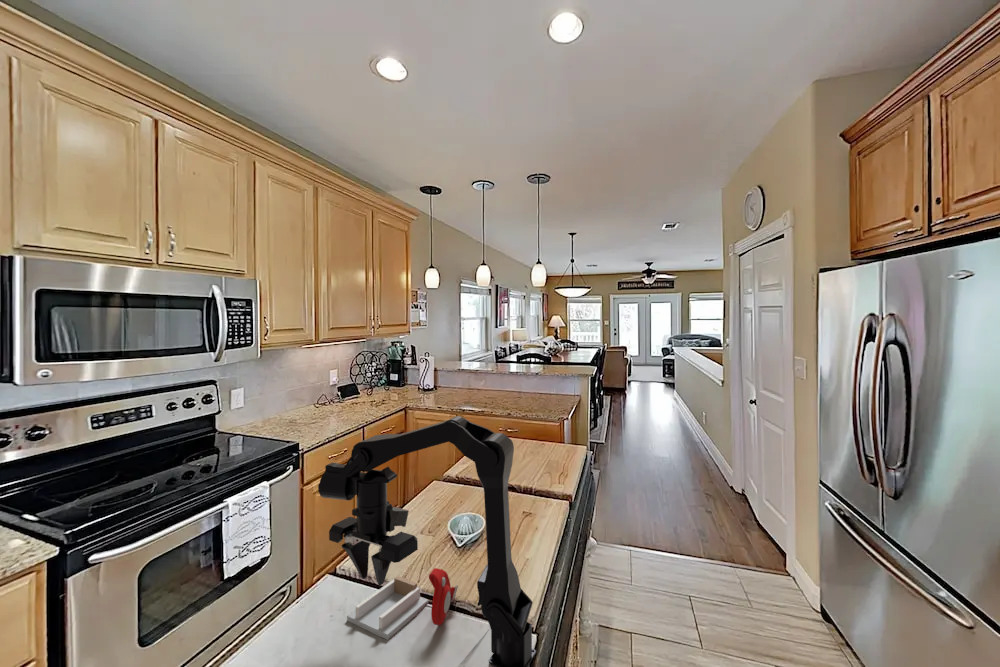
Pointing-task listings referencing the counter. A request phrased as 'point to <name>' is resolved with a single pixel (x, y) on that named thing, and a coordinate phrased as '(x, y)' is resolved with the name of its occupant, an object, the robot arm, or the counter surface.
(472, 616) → the counter surface
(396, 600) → the grey walled tray
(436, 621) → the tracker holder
